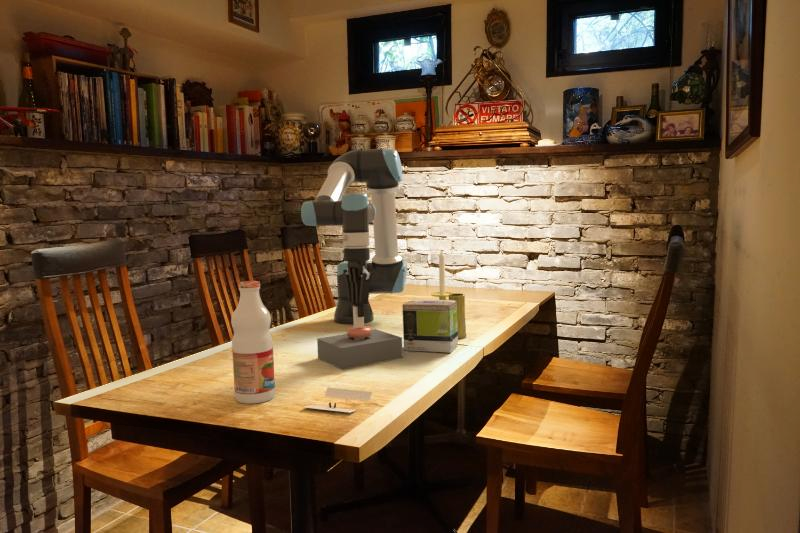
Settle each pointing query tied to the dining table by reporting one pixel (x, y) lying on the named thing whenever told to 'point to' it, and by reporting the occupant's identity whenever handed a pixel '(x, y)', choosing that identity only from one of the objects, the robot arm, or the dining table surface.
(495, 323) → the dining table surface
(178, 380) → the dining table surface
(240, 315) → the fruit juice
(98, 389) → the dining table surface
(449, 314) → the tea box
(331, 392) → the beige flat rectangular pieces
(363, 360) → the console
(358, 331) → the button
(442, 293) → the candle
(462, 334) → the vase
